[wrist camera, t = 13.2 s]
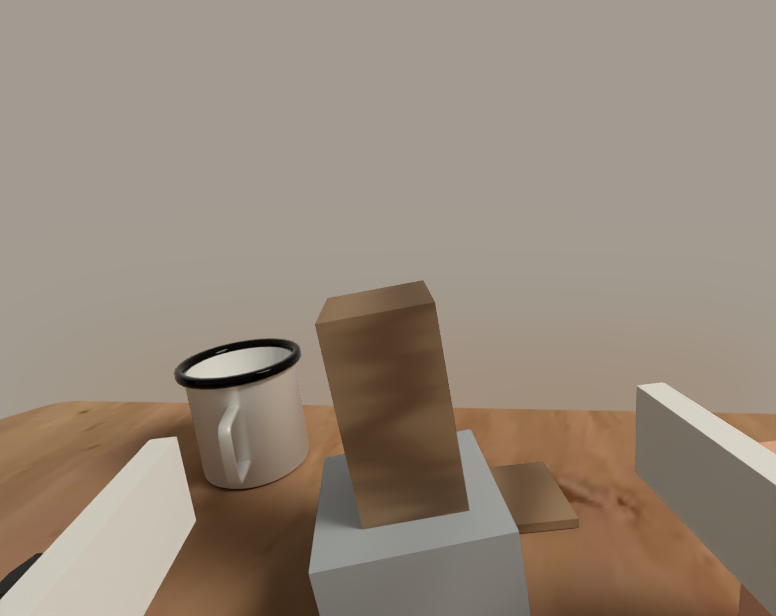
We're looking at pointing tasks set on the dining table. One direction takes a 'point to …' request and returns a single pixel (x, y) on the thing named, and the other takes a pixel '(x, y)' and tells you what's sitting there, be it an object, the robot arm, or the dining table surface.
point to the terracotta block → (749, 607)
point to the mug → (246, 411)
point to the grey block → (418, 553)
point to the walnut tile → (534, 498)
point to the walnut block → (393, 403)
